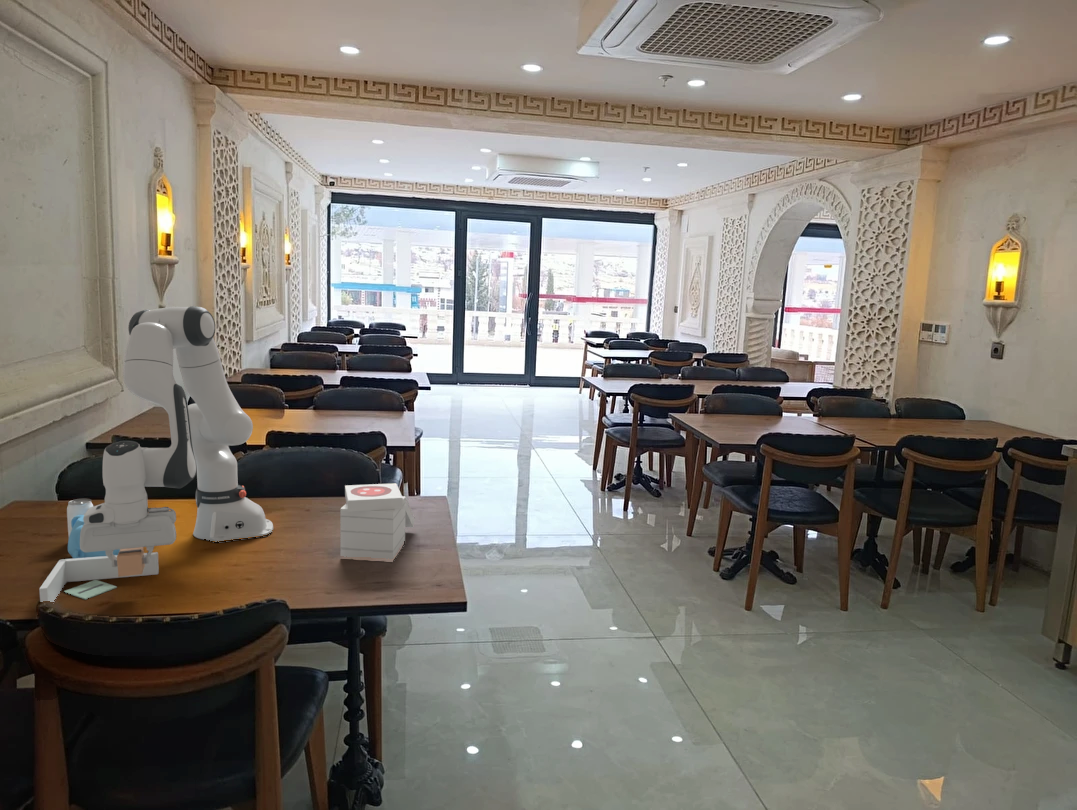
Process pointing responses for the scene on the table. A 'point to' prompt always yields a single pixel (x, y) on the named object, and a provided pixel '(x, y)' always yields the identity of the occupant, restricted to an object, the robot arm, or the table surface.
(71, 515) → the can
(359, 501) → the pizza boxes
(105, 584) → the white l-shaped bracket
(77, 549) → the decorative pot
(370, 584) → the table surface
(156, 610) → the table surface
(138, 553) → the cube
